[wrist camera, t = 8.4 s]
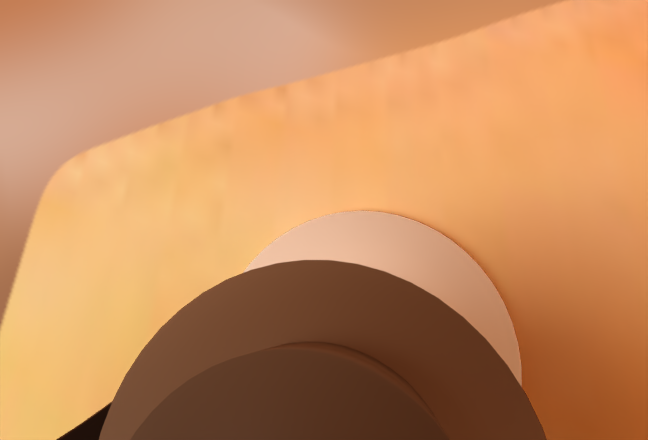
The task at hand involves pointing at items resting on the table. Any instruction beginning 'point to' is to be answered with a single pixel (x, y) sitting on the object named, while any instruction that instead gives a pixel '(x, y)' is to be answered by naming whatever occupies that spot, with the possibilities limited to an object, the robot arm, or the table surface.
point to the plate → (405, 266)
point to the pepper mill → (319, 365)
